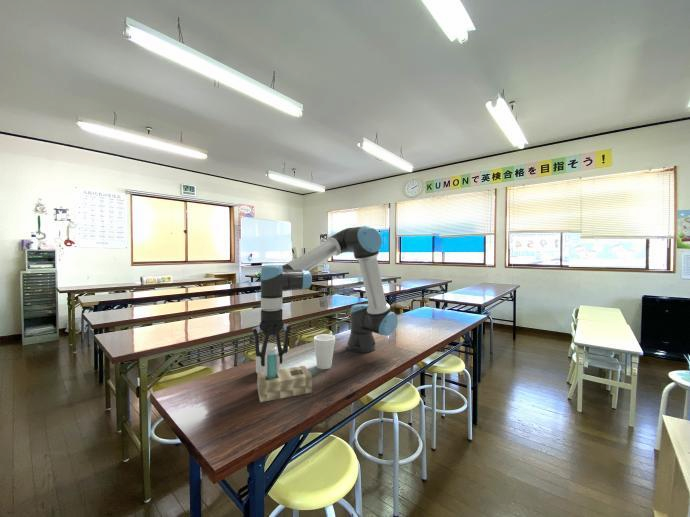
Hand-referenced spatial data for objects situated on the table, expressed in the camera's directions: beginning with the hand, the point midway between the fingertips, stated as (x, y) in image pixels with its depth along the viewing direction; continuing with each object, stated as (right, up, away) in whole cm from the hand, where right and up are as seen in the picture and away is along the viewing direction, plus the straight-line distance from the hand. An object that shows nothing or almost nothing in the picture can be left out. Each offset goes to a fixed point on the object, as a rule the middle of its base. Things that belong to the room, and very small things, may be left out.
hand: (271, 373), depth 101 cm
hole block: (+4, -7, +2) cm, 8 cm away
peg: (0, -5, 0) cm, 5 cm away
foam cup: (+17, -7, +24) cm, 30 cm away
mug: (-5, -7, +18) cm, 20 cm away
